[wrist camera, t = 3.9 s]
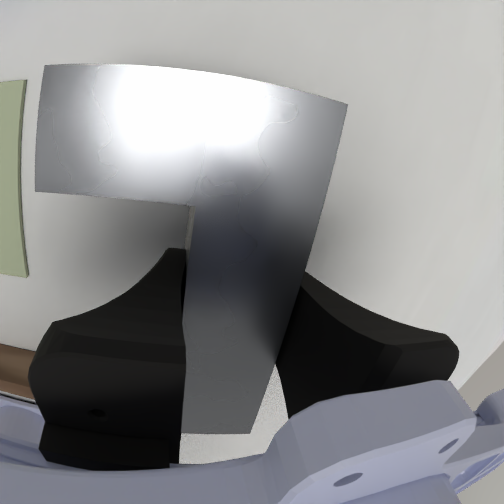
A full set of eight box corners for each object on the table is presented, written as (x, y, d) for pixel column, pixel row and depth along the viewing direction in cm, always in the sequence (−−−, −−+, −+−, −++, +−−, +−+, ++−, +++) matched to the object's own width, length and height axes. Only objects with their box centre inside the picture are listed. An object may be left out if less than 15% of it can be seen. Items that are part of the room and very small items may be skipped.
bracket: (235, 359, 16) (250, 433, 12) (95, 347, 14) (76, 420, 10) (292, 101, 11) (348, 104, 7) (98, 76, 9) (44, 65, 5)
